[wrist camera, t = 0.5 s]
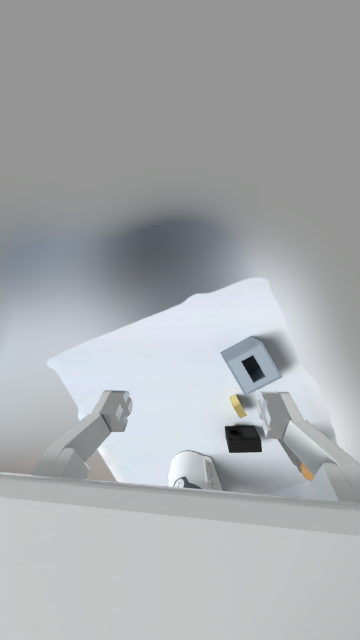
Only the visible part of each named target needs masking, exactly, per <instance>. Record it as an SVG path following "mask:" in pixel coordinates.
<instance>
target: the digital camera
mask: <svg viewBox="0 0 360 640" xmlns="http://www.w3.org/2000/svg"><path fill="white" fill-rule="evenodd" d="M225 433H226V440H227V444H228V449H229V453H244V452H262V447H261V439H260V437H259V435H258V433H257V431H256V429H255V427H254V426H225Z"/></svg>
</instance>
